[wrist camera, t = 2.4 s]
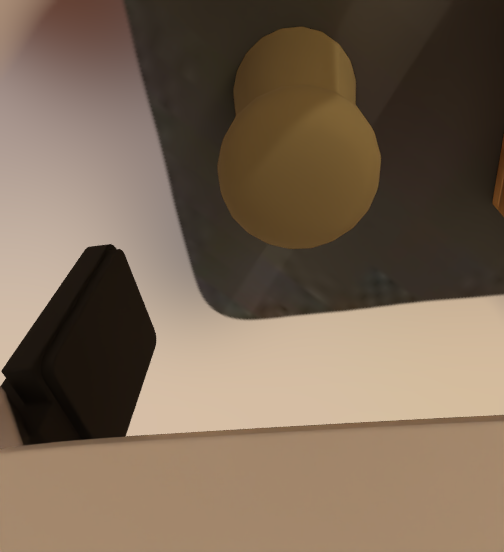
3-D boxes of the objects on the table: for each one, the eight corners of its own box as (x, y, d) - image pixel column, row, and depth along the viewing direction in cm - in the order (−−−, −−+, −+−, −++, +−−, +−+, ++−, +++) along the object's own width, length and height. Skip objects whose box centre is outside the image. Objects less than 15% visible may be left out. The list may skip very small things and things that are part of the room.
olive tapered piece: (272, 175, 24) (264, 303, 15) (209, 74, 21) (154, 160, 13) (376, 117, 22) (435, 227, 13) (321, -4, 19) (350, 35, 10)
